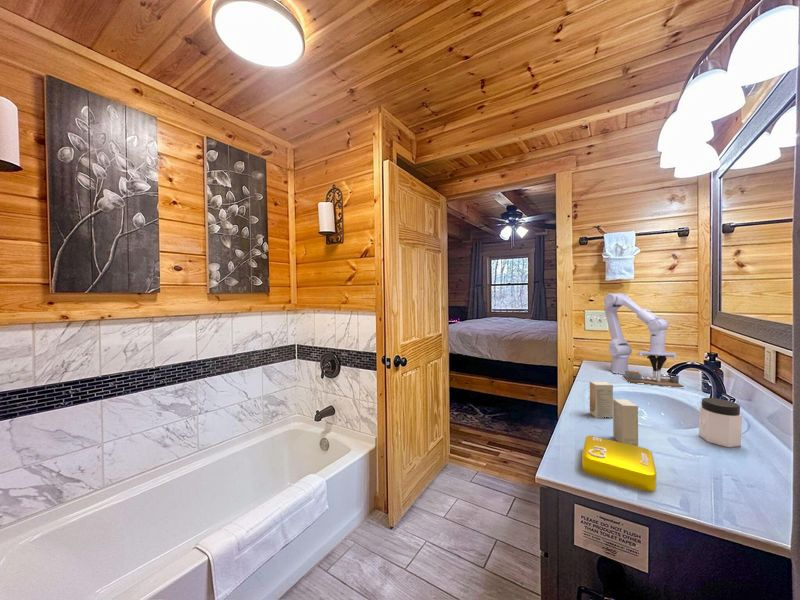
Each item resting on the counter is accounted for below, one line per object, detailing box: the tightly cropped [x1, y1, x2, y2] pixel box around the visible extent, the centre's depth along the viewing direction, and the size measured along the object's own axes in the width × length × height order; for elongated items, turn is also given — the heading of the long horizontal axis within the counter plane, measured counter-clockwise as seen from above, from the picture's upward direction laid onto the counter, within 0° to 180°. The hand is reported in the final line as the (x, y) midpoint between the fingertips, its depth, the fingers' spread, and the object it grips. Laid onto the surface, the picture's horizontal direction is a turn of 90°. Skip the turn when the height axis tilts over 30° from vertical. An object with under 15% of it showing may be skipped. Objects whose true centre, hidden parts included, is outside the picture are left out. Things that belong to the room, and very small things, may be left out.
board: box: [621, 374, 685, 388], centre depth 154 cm, size 12×21×1 cm, turn 68°
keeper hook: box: [660, 373, 680, 384], centre depth 152 cm, size 4×7×4 cm, turn 68°
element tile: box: [581, 435, 658, 492], centre depth 81 cm, size 15×15×5 cm
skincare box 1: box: [589, 381, 614, 419], centre depth 113 cm, size 6×4×12 cm
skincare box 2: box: [612, 398, 639, 447], centre depth 94 cm, size 6×4×12 cm
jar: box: [698, 397, 743, 448], centre depth 95 cm, size 9×8×12 cm
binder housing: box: [624, 370, 642, 381], centre depth 157 cm, size 5×5×4 cm
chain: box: [641, 368, 662, 382], centre depth 155 cm, size 6×10×6 cm, turn 68°
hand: (656, 370), depth 153 cm, fingers closed on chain
